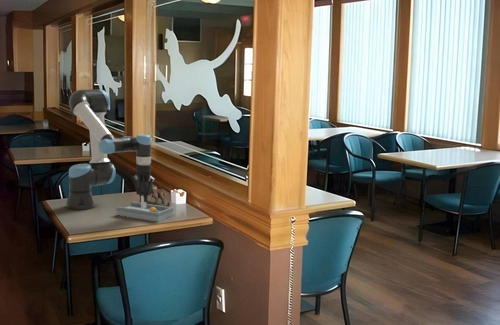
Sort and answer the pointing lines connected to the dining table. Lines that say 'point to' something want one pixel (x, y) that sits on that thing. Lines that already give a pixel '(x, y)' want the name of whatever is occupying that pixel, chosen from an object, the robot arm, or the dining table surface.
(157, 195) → the figurine
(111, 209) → the dining table surface
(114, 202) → the dining table surface
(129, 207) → the tray
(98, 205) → the dining table surface
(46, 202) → the dining table surface
